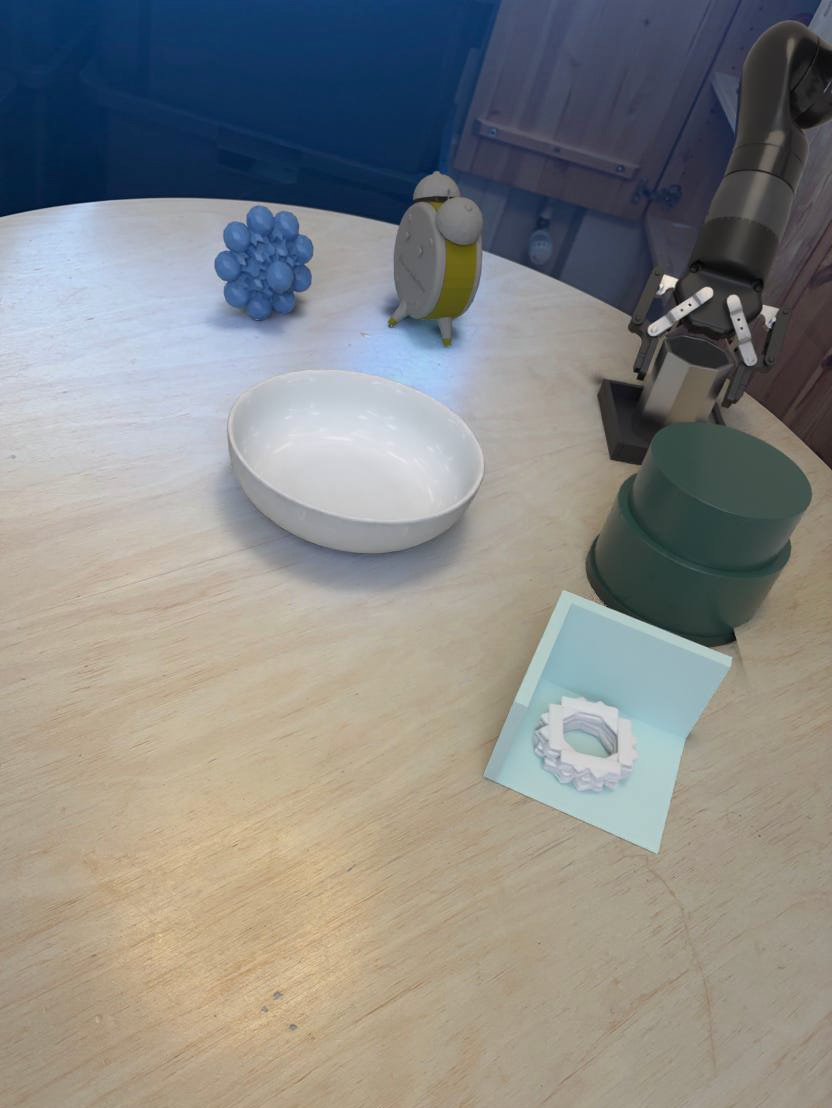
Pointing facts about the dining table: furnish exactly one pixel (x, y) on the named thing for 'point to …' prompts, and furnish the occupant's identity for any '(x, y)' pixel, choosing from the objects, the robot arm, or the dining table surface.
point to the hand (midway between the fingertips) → (683, 391)
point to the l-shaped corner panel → (605, 718)
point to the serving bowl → (353, 459)
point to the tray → (626, 420)
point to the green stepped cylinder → (699, 532)
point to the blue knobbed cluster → (264, 262)
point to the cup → (681, 384)
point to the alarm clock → (437, 254)
